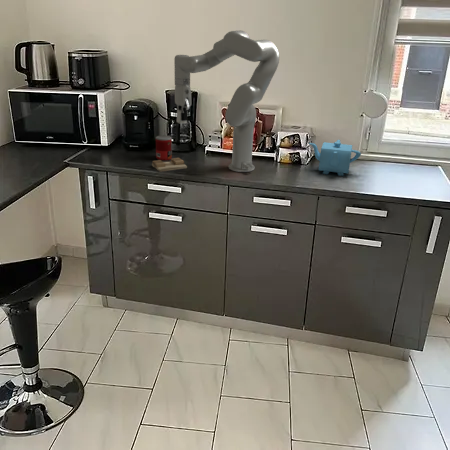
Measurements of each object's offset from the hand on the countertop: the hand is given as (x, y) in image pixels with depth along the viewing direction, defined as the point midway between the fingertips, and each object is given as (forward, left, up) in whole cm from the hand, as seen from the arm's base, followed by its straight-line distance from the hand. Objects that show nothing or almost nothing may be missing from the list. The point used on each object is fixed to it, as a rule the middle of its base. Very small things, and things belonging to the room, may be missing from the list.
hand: (182, 119), depth 243 cm
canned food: (+1, +10, -20) cm, 22 cm away
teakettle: (-51, -56, -20) cm, 78 cm away
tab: (0, 0, -2) cm, 2 cm away
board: (-13, +13, -19) cm, 27 cm away
